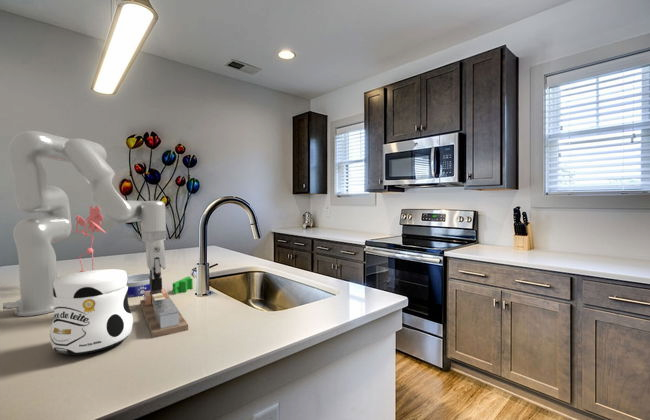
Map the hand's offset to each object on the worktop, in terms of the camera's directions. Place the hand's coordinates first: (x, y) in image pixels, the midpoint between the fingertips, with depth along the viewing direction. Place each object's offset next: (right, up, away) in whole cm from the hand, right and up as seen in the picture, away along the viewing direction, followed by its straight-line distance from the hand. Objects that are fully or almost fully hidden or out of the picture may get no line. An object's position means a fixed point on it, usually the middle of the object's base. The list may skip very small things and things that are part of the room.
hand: (155, 287), depth 114 cm
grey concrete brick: (+12, -5, -17) cm, 21 cm away
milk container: (0, -8, -30) cm, 31 cm away
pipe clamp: (+2, -6, +19) cm, 20 cm away
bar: (+4, -5, -6) cm, 8 cm away
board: (+7, -7, -10) cm, 14 cm away
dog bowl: (-17, -6, +18) cm, 25 cm away
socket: (-1, -5, +1) cm, 5 cm away
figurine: (-43, -6, +32) cm, 54 cm away
